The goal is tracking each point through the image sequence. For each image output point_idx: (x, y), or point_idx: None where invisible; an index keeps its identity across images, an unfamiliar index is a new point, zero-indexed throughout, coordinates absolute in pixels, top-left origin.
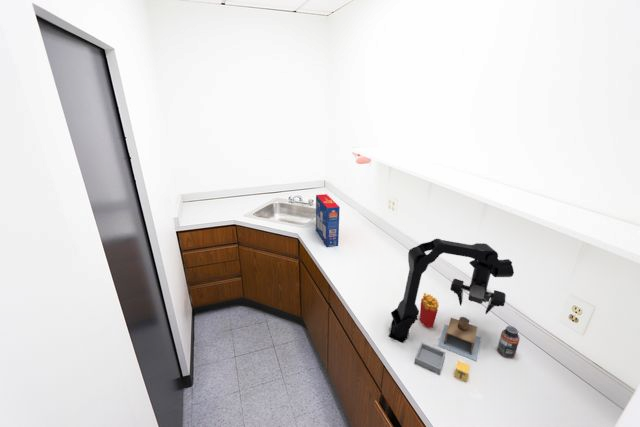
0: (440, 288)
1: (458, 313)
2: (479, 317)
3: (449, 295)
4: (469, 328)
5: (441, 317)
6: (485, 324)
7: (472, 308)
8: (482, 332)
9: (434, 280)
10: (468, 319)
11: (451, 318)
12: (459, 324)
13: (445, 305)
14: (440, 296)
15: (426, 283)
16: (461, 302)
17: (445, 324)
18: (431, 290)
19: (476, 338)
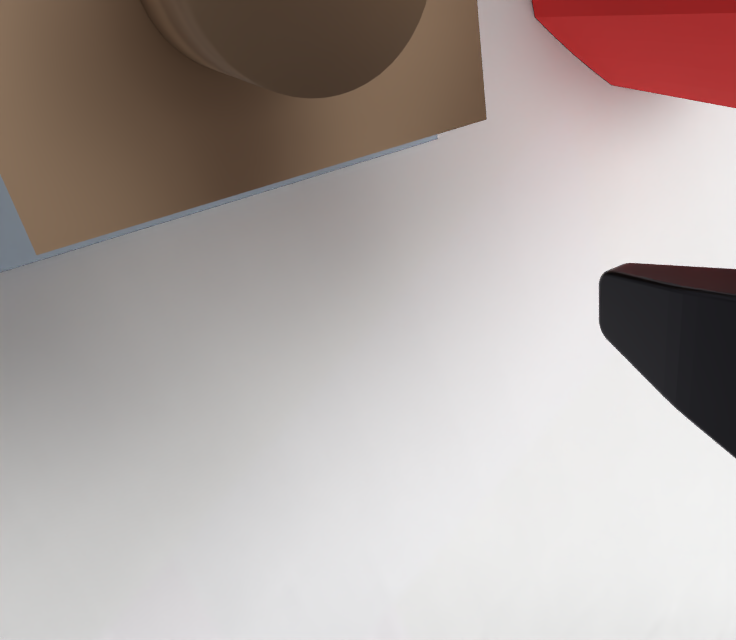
0: (603, 581)
1: (382, 444)
2: (192, 581)
3: (524, 578)
4: (124, 68)
5: (496, 232)
6: (83, 547)
7: (305, 624)
8: (28, 396)
9: (658, 613)
10: (240, 75)
11: (475, 96)
12: None
13: (516, 435)
14: (581, 500)
15: (700, 532)
16: (722, 296)
17: (430, 139)
18: (655, 497)
19: (10, 204)
